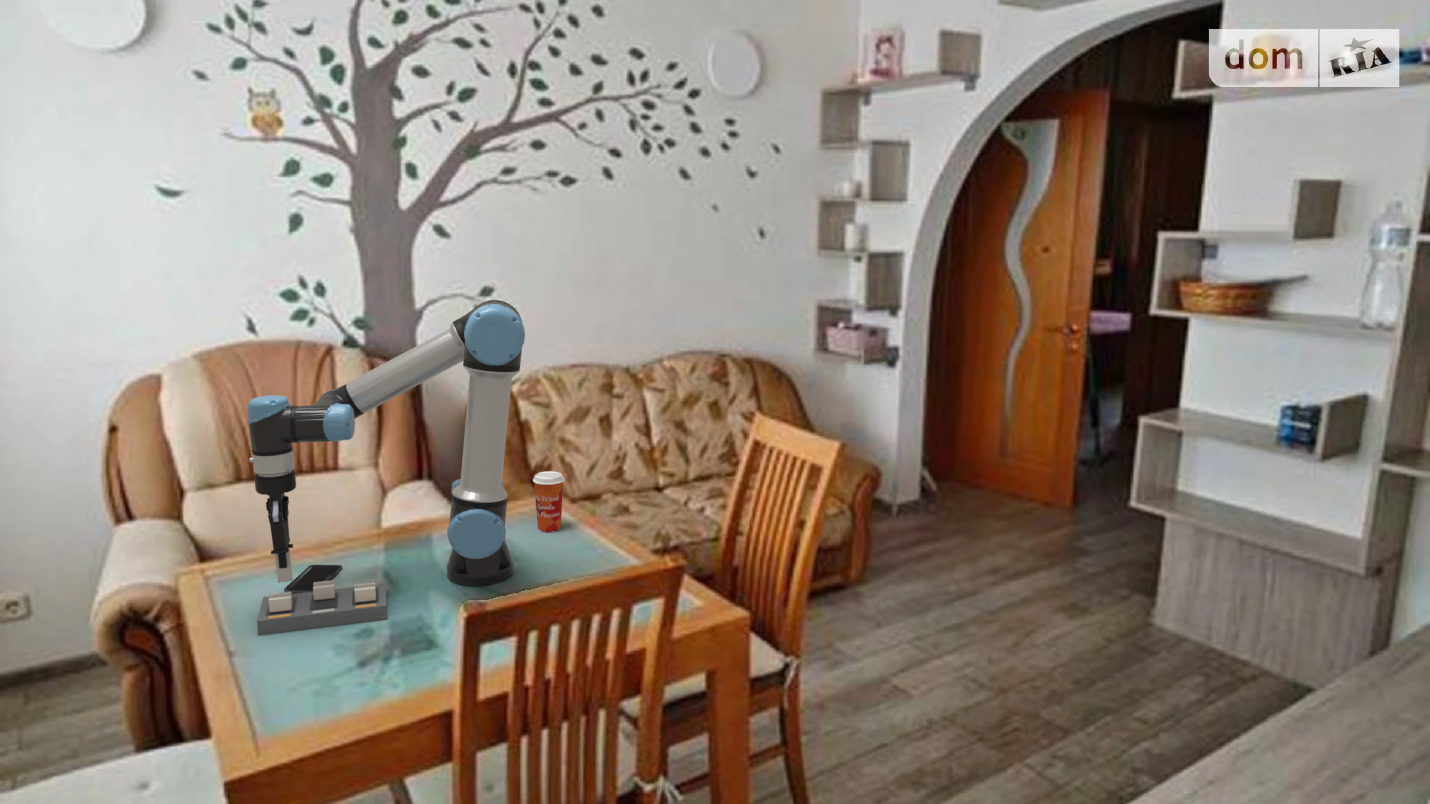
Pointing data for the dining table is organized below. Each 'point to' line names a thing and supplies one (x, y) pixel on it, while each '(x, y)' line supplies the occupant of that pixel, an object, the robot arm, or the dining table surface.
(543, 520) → the coffee cup
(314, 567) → the phone
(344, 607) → the switch board
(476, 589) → the dining table surface
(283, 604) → the switch tab
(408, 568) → the dining table surface
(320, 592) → the switch tab
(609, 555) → the dining table surface
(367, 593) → the switch tab
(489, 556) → the robot arm
